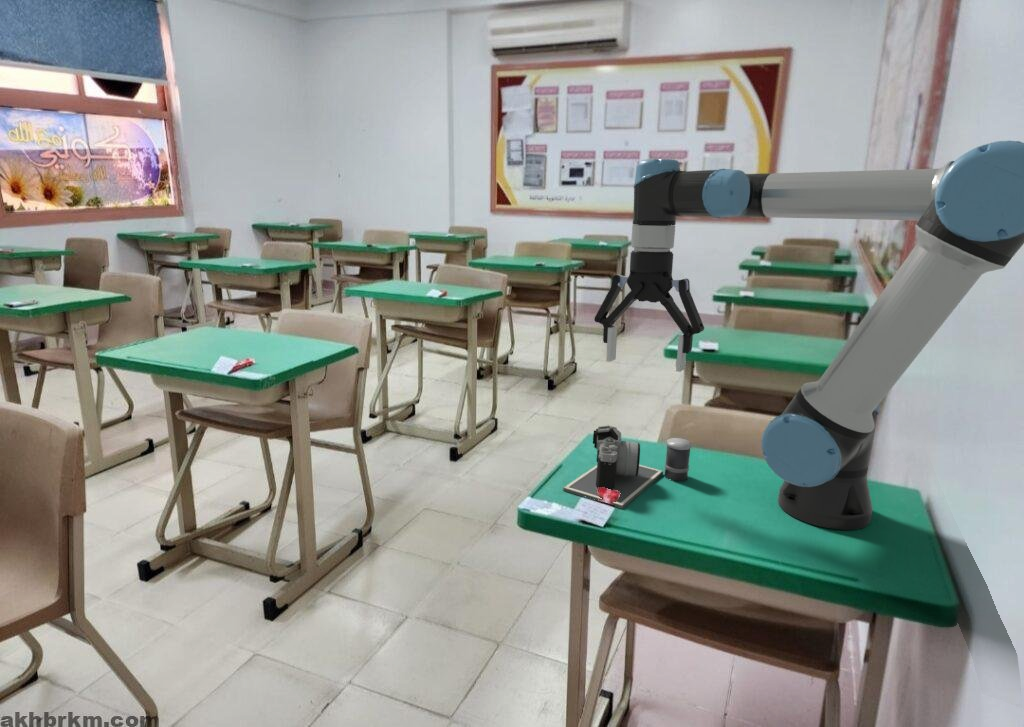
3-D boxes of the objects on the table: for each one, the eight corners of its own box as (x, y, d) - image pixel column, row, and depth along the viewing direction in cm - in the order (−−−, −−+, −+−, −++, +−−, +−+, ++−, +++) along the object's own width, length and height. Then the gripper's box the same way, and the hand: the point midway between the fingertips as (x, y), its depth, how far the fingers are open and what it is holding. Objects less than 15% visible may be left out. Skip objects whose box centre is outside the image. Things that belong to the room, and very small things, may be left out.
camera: (637, 498, 117) (642, 446, 115) (588, 492, 119) (591, 441, 116) (636, 464, 132) (640, 418, 130) (592, 460, 134) (595, 414, 131)
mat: (662, 474, 130) (663, 471, 129) (622, 509, 114) (622, 505, 114) (608, 459, 136) (608, 456, 136) (563, 490, 121) (563, 487, 121)
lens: (691, 476, 129) (695, 441, 127) (683, 483, 125) (686, 448, 124) (668, 470, 132) (672, 436, 130) (660, 477, 128) (663, 442, 126)
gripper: (728, 252, 113) (717, 370, 118) (597, 246, 126) (592, 353, 131) (716, 254, 107) (705, 378, 112) (580, 247, 120) (575, 359, 124)
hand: (644, 365), depth 121 cm, fingers open, 13 cm apart
